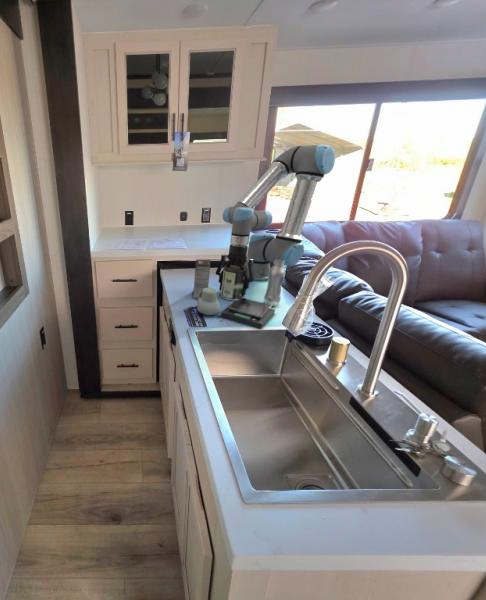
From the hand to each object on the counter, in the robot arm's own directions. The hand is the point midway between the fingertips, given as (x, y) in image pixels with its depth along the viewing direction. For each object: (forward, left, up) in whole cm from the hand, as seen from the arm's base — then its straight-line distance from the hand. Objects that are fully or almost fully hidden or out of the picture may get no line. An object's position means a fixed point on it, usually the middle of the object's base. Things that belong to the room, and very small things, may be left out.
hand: (232, 292), depth 145 cm
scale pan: (+13, +13, 0) cm, 19 cm away
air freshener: (+23, -1, -2) cm, 23 cm away
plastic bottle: (-2, +17, -2) cm, 17 cm away
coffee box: (+8, -12, -2) cm, 15 cm away
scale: (+15, +13, -2) cm, 20 cm away
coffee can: (0, 0, -2) cm, 2 cm away
